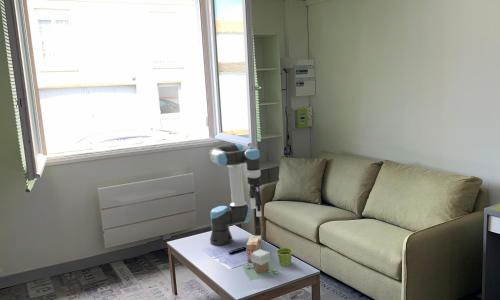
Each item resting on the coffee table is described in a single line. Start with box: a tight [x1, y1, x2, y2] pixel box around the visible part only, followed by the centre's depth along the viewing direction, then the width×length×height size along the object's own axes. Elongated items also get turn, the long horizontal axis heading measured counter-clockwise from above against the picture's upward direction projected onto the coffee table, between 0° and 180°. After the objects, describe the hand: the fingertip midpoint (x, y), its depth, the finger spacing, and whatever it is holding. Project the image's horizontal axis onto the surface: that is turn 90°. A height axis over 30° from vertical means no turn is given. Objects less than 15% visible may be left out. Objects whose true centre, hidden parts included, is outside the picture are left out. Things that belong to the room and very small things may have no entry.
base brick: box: [252, 262, 269, 273], centre depth 234 cm, size 7×7×5 cm
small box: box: [251, 249, 271, 265], centre depth 234 cm, size 8×8×5 cm
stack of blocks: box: [245, 235, 263, 263], centre depth 255 cm, size 21×6×12 cm, turn 171°
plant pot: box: [275, 247, 294, 267], centre depth 240 cm, size 9×9×9 cm
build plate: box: [241, 259, 283, 281], centre depth 235 cm, size 20×18×2 cm
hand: (256, 212), depth 239 cm, fingers open, 13 cm apart
